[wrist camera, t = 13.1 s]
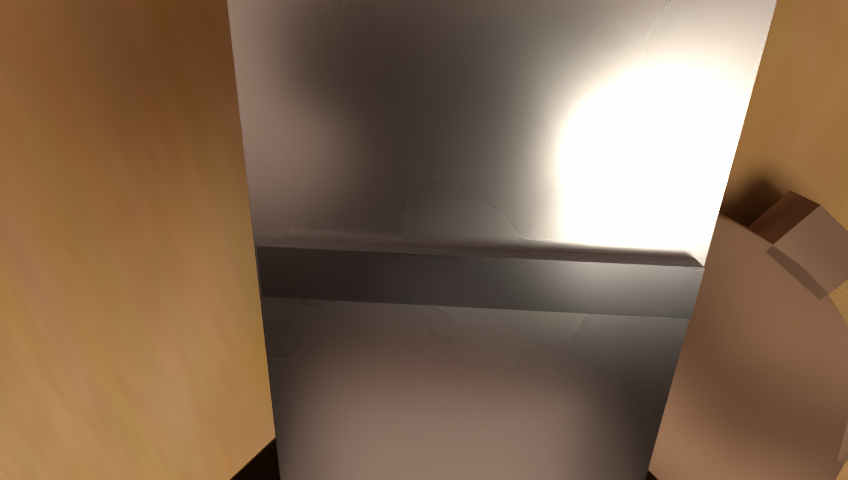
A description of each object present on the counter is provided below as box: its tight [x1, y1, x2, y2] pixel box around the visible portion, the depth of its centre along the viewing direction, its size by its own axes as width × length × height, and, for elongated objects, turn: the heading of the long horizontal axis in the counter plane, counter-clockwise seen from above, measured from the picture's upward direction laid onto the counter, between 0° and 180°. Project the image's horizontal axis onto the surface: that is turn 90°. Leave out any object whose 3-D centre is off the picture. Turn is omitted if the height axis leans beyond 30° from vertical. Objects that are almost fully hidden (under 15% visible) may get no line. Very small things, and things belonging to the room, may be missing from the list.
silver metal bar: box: [227, 0, 777, 480], centre depth 8 cm, size 4×16×4 cm, turn 178°
